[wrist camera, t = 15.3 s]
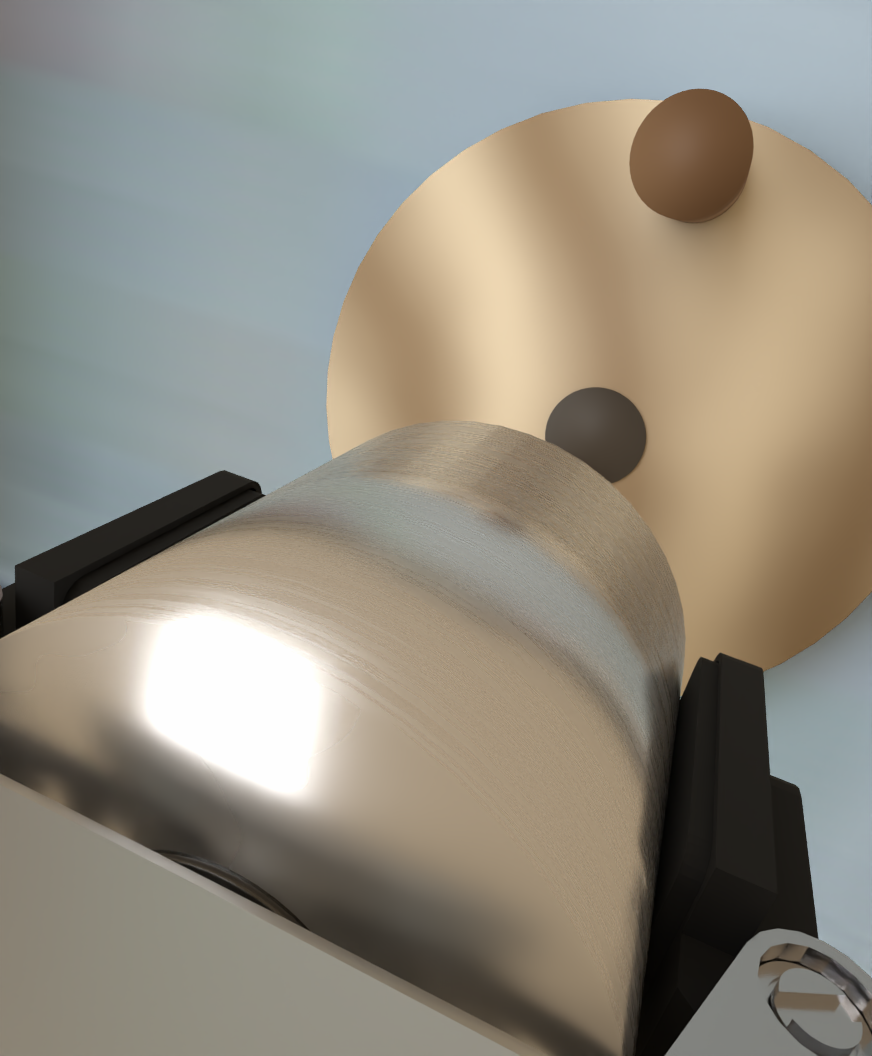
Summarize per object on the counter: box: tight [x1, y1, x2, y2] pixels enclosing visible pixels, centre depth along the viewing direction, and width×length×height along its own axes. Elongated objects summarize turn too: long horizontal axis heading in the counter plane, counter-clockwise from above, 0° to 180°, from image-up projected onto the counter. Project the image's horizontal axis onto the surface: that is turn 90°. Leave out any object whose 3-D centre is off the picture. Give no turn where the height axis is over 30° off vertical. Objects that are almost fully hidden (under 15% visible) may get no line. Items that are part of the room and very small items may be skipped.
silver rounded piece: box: [0, 421, 686, 1056], centre depth 9 cm, size 6×6×7 cm
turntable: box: [326, 89, 872, 696], centre depth 22 cm, size 18×18×6 cm
